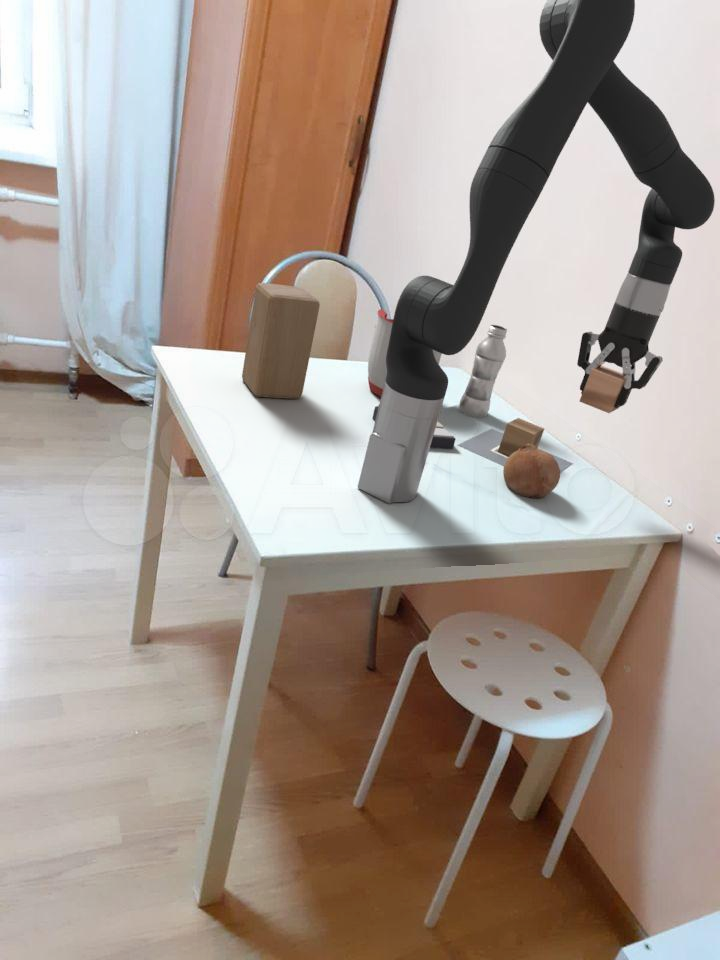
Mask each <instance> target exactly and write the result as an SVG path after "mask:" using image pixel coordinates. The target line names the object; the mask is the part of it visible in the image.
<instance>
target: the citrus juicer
mask: <svg viewBox="0 0 720 960" xmlns="http://www.w3.org/2000/svg"><path fill="white" fill-rule="evenodd" d="M376 314H377V319H376V323H375V326H374V331H373V335H372V339H371V344H370V347H369V353H368V354H369V355H368V358H367V359H368V360H367V361H368V362H367V374H368V375H367V381H368V386H369V390H370V391H371V392H372V393H374V394H375V395H376V396H378V397H380V398H381V396H382V392H383V388H384V384H385V380H386V376H387V367H386V355H387V350H388V345H389V339H390V334H391V329H392V323H393V318H387V317H388V312H386V311H385V310H384V309H383V308H380V309H378V310H377V313H376ZM433 353H434V357H435V359H436V361H437V363H438V364H439V365H440V360H441V358H442V355H443V354H442V353H439V352H437V351H435V350H433Z"/></svg>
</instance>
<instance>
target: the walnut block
mask: <svg viewBox="0 0 720 960" xmlns="http://www.w3.org/2000/svg"><path fill="white" fill-rule="evenodd" d="M544 431H545V428H543V427H541V426H539V425H537V424H534V423H532V422H529V421H528V420H527V421H526V420H525V419H521V418H520V417H518V418H515V419H513V420H511V421H509V422H507V423H506V426H505V430H504V432H503V433H504V435H503V438H502V440H501V443H500V446H499V449H498V452H499V453H501V454H504V455H506V456H508V457H509V456H510V455H511V454H513V453H514V452H516V451H518V450H519V449H520V448H521V447H523V446H525V444H527V443H528V444H529V443H530V444H532V445H534V446H536V447H537V448H538V449H539V445H540V442H541V438H542V437H543V434H544Z"/></svg>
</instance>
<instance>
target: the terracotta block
mask: <svg viewBox="0 0 720 960" xmlns="http://www.w3.org/2000/svg"><path fill="white" fill-rule="evenodd" d="M624 381H625V379H624V376H623V372H620V371H617V370H614V369H613V368H612V369H611V368H608V367H606V366H604V365H602V366H601V367H597V368H593V369H592V370H591V372H590V375H589V378H588V380H587V383H586V385H585V388H584V391H583V393H582V394H581V396H580V399H579V402H580V403H582V404H584V405H586V406H587V405H588V406H589V407H592V408H594V409H597V410H599V411H602V412H605V413H606V414H611V413H612V412H615V411H616V410H618V409H619V408H615V407H614V406H615V403H616V401H617V398H618V396H619V393H620V391H621V388H622V387H623V386H624Z"/></svg>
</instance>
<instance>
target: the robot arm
mask: <svg viewBox="0 0 720 960" xmlns="http://www.w3.org/2000/svg"><path fill="white" fill-rule="evenodd" d="M635 9H636V1H635V0H546V1H545V4H544V5H543V7H542V10H541V14H540V17H539V23H538V24H539V36H540V40H541V43H542V46H543V47H544V49H545V52H546V53H547V55H548V56H549V57H550V59H551V60H552V61H551V64H550V66H549V67H548V69H547V71H546V73H545V74H544V75H543V77H542V79H541V80H540V81H539V83H538V84H537V85H536V86H535V88H533V90H532V91H531V92H530V94H528V96H527V97H526V98H525V99H524V100H523V101H522V102H521V103H520V104H519V105H518V107H517V108H516V109H515V110H514V111H513V113H512V114H510V115H509V116H508V118H507V119H506V120H505V122H503V124H502V125H501V127H500V128H499V129H498V130H497V132H496V133H495V135H494V137H493V138H492V140H491V141H490V144H489V145H488V147H487V149H486V151H485V153H484V155H483V157H482V159H481V161H480V163H479V166H478V167H477V169H476V171H475V174H474V176H473V178H472V181H471V185H470V190H469V205H468V206H469V229H470V232H469V235H470V237H469V245H468V250H467V253H466V254H467V255H466V258H465V260H464V263H463V266H462V268H461V270H460V271H459V274H458V276H457V278H456V280H455V282H454V284H451V283H449V282H446V281H445V280H441V279H439V278H436V277H433V276H430V275H419V276H416V277H415V278H413V279H412V280H410V281H409V282H408V283H407V284H406V286H405V287H404V288H403V290H402V292H401V294H400V295H399V299H398V301H397V304H396V305H395V306H396V307H395V310H394V314H393V318H392V319H393V323H392V329H391V334H390V339H389V345H388V350H387V355H386V367H387V376H386V380H385V384H384V388H383V392H382V396H381V397H380V400H379V404H378V406H379V408H378V412H377V416H376V420H375V421H374V426H373V427H372V428H373V429H372V433H370V435H369V440H368V442H367V448H366V452H365V455H364V458H363V459H364V460H363V463H362V466H361V472H360V476H359V480H358V484H357V489H359V490H361V491H363V492H366V493H367V494H369V495H371V496H373V497H375V498H377V499H379V500H380V501H383V502H385V503H387V504H389V505H390V504H392V503H407V502H411V501H413V500H414V499H416V497H417V495H418V490H419V487H420V484H421V479H422V476H423V472H424V469H425V466H426V463H427V458H428V455H429V452H430V449H431V448H430V445H431V442H432V439H433V435H434V432H435V428H436V425H437V421H438V422H439V417H440V413H441V410H442V407H443V404H444V400H445V396H446V394H447V390H448V385H449V378H448V376H447V374H446V372H445V371H444V369H443V368H442V367H441V365H440V363H439V364H438V363H437V361H436V359H435V357H434V353H433V350H435V351H437V352H439V353H442V354H441V355H445V356H455V355H456V354H459V353H460V352H462V350H464V349H465V348H466V347H467V345H468V344H469V343H470V342H471V340H472V339H473V337H474V335H475V334H476V332H477V330H478V328H479V326H480V324H481V322H482V320H483V317H484V315H485V313H486V310H487V308H488V305H489V303H490V300H491V298H492V295H493V293H494V291H495V288H496V285H497V282H498V281H499V278H500V275H501V273H502V271H503V268H504V266H505V264H506V262H507V260H508V258H509V255H510V253H511V251H512V249H513V247H514V245H515V243H516V241H517V239H518V237H519V235H520V233H521V231H522V228H523V227H524V225H525V223H526V221H527V220H528V218H529V215H530V214H531V213H532V210H533V208H534V207H535V205H536V203H537V202H538V200H539V197H540V196H541V193H542V191H543V189H544V187H545V186H546V183H547V182H548V181H549V179H550V176H551V174H552V172H553V169H554V167H555V165H556V163H557V161H558V159H559V156H560V155H561V153H562V151H563V149H564V147H565V145H566V144H567V142H568V140H569V138H570V137H571V134H572V133H573V131H574V129H575V127H576V125H577V123H578V121H579V119H580V117H581V116H582V113H583V111H584V110H585V107H586V106H587V105H589V106H590V108H591V109H592V110H593V111H594V112H595V114H596V115H597V116H598V118H599V119H600V120H601V122H602V123H603V125H604V126H605V127H606V128H607V129H606V130H608V131H609V133H610V134H611V136H612V137H613V139H614V142H615V143H616V144H617V147H618V148H619V149H620V151H621V154H622V155H623V157H624V159H625V161H626V162H627V164H628V166H629V167H630V169H631V170H632V173H633V175H634V176H635V177H636V179H637V180H638V181H639V182H640V183H642V184H643V185H645V186H647V187H649V188H651V189H650V190H649V192H648V194H647V195H646V198H645V201H644V202H643V203H644V204H643V207H642V212H641V213H642V214H641V220H640V224H639V225H640V226H639V232H638V241H637V243H638V244H637V249H636V251H635V254H634V256H633V257H632V261H631V263H630V267H628V271H627V274H626V275H625V278H624V279H623V281H622V283H621V286H620V288H619V290H618V293H617V295H616V298H615V301H614V304H613V307H612V309H611V311H610V314H609V317H608V319H607V322H606V325H605V327H604V328H603V330H602V332H601V333H593V332H592V331H587V332H583V333H582V336H581V340H580V346H579V352H578V357H577V358H578V359H577V363H576V364H577V367H579V368H580V369H582V370H583V371H584V375H583V378H582V380H581V383H580V385H579V390H580V394H581V395H582V393H583V391H584V388H585V385H586V383H587V380H588V378H589V375H590V372H591V370H592V369H593V368H597V367H601V366H604V364H605V363H609V364H614V365H616V366H617V367H620V368H622V373H623V376H624V379H625V381H624V386H623V387H622V388H621V391H620V393H619V396H618V398H617V401H616V403H615V406H614V407H615V408H618V409H619V408H621V407H623V406H625V405H626V403H628V399H629V397H630V395H631V392H632V390H633V389H637V390H641V389H643V388H645V387H646V386H647V384H648V383H649V382H650V380H651V379H652V377H653V375H654V374H655V373H656V371H657V370H658V369H659V367H660V365H661V364H662V362H663V359H664V358H663V357H662V356H660V355H656V354H654V353H652V352H651V351H649V350H650V349H649V343H650V341H651V338H652V336H653V334H654V331H655V329H656V326H657V324H658V321H659V319H660V317H661V313H663V311H664V308H665V304H666V302H667V299H668V296H669V291H670V289H671V287H672V286H671V285H672V283H673V282H674V278H675V276H676V274H677V271H678V269H679V267H680V263H681V261H682V258H683V251H682V249H681V248H680V247H679V246H678V245H677V244H676V243H675V240H674V238H675V229H676V228H677V229H680V230H693V229H697V228H699V227H701V226H703V225H704V224H706V222H708V220H709V219H710V218H711V216H712V214H713V211H714V208H715V203H716V201H715V192H714V189H713V186H712V185H711V183H710V181H709V180H708V178H707V177H706V176H705V174H704V173H703V172H702V170H701V169H700V168H699V167H698V166H697V164H696V163H694V161H693V160H692V159H691V158H690V157H689V156H688V154H686V153H685V152H684V150H683V149H682V147H681V145H680V142H679V140H678V138H677V137H676V135H675V133H674V130H673V128H672V127H671V125H670V122H669V120H668V119H667V117H666V116H665V113H663V111H662V109H660V107H659V106H658V105H657V104H656V103H655V102H654V101H653V99H651V97H649V96H648V95H647V94H646V93H644V91H643V90H641V89H640V88H639V87H638V86H636V85H635V84H634V83H633V82H632V81H631V80H630V79H629V78H628V77H627V76H626V75H625V74H624V73H623V71H622V70H621V69H620V68H619V67H618V65H617V64H616V63H615V59H616V58H617V57H618V55H619V53H620V52H621V50H622V48H623V47H624V45H625V43H626V41H627V38H628V37H629V34H630V32H631V30H632V26H633V23H634V17H635ZM597 342H598V345H599V349H600V350H599V351H600V353H598V354H597V356H596V357H595V358H594V359H593V360H592V362H590V356H591V351H592V346H594V345H596V343H597ZM643 358H645V361H644V364H645V366H646V368H645V369H644V371H643V372H642V374H641V375H640V377H639V378H638V379H636V380H635V376H636V375H635V374H636V363H637V362H638V361H640V360H642V359H643Z"/></svg>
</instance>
